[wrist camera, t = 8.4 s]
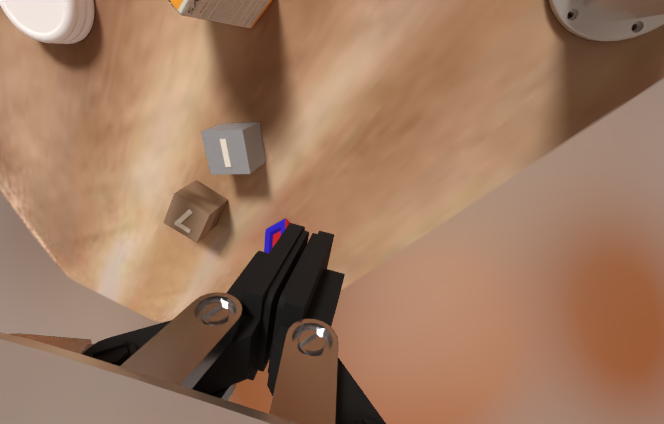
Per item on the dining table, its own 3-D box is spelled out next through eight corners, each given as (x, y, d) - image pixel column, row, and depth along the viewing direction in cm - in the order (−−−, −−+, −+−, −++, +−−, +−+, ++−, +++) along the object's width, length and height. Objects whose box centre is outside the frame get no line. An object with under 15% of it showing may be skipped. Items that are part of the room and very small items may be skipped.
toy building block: (285, 243, 49) (285, 291, 44) (265, 229, 47) (262, 279, 41) (304, 233, 48) (306, 282, 42) (285, 218, 45) (284, 268, 40)
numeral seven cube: (228, 199, 46) (209, 215, 42) (215, 225, 48) (196, 243, 44) (196, 179, 46) (173, 193, 41) (185, 207, 48) (162, 222, 44)
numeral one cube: (259, 121, 41) (241, 130, 36) (266, 161, 43) (249, 174, 38) (222, 123, 42) (200, 131, 37) (230, 162, 44) (210, 174, 39)
